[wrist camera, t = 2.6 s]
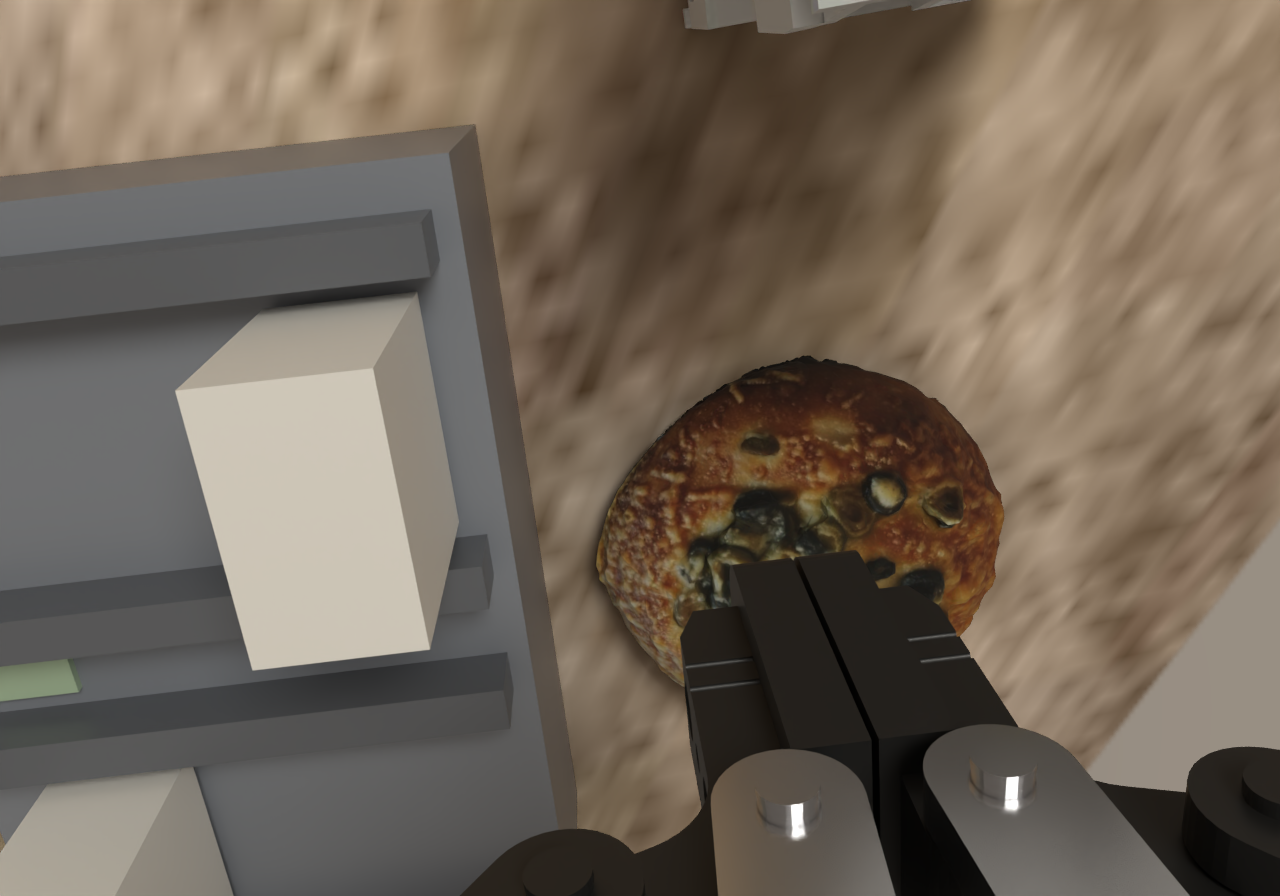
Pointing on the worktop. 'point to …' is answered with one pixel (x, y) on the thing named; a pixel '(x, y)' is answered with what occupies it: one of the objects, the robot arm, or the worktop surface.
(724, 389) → the bread roll
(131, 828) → the breaker
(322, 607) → the block
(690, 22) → the circuit breaker
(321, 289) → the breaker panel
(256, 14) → the worktop surface
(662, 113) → the worktop surface
